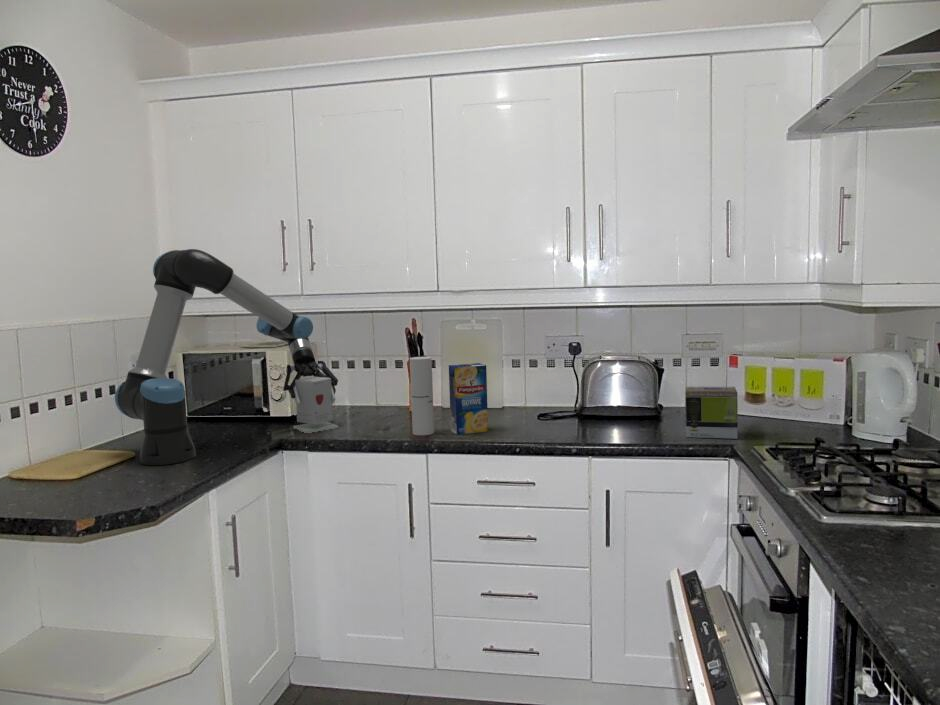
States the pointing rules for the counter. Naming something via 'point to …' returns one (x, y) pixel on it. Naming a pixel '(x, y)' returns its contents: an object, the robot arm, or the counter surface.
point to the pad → (315, 427)
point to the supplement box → (314, 400)
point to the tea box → (711, 412)
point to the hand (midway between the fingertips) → (316, 402)
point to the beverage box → (468, 398)
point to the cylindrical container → (422, 395)
